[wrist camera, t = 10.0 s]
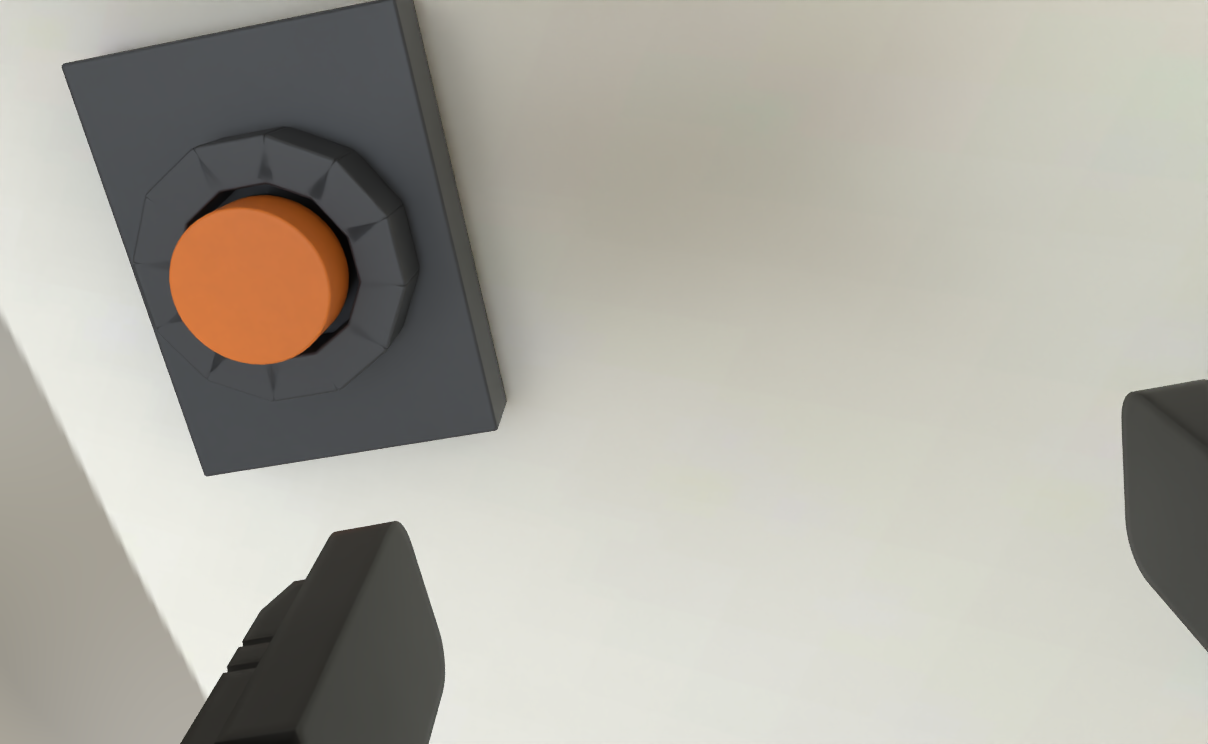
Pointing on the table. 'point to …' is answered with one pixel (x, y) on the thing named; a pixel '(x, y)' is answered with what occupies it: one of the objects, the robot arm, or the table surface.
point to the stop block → (328, 188)
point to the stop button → (259, 279)
